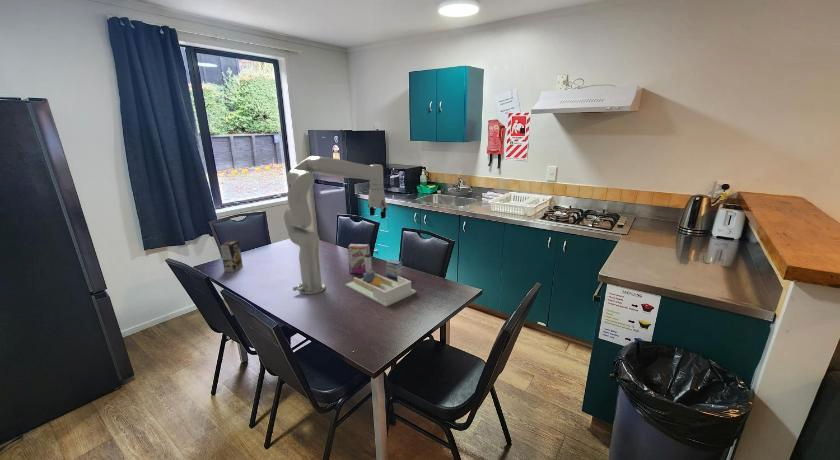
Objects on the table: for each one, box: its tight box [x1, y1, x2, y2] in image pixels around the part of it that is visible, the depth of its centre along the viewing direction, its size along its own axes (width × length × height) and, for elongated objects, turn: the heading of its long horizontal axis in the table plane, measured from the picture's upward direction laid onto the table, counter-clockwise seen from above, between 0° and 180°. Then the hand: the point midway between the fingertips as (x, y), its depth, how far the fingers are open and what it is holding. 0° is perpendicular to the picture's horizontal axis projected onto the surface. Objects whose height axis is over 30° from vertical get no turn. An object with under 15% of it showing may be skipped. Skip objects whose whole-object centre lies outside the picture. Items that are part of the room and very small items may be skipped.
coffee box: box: [219, 240, 243, 273], centre depth 200 cm, size 9×6×16 cm
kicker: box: [362, 252, 376, 283], centre depth 179 cm, size 6×3×15 cm, turn 136°
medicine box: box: [385, 259, 403, 279], centre depth 190 cm, size 8×4×9 cm, turn 62°
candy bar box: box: [347, 243, 371, 275], centre depth 194 cm, size 11×5×16 cm, turn 84°
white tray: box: [345, 272, 417, 308], centre depth 175 cm, size 20×32×6 cm, turn 46°
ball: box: [372, 277, 381, 286], centre depth 177 cm, size 4×4×4 cm
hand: (377, 216), depth 197 cm, fingers open, 9 cm apart
